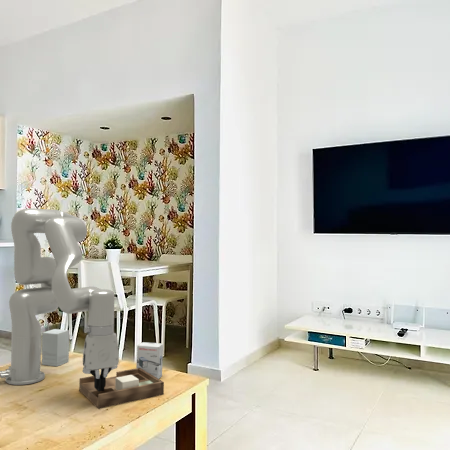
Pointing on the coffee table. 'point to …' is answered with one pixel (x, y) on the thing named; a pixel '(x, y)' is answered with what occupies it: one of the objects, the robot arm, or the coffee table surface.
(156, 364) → the ink box
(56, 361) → the supplement box
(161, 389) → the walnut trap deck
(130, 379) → the ivory block
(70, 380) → the coffee table surface
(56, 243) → the robot arm
